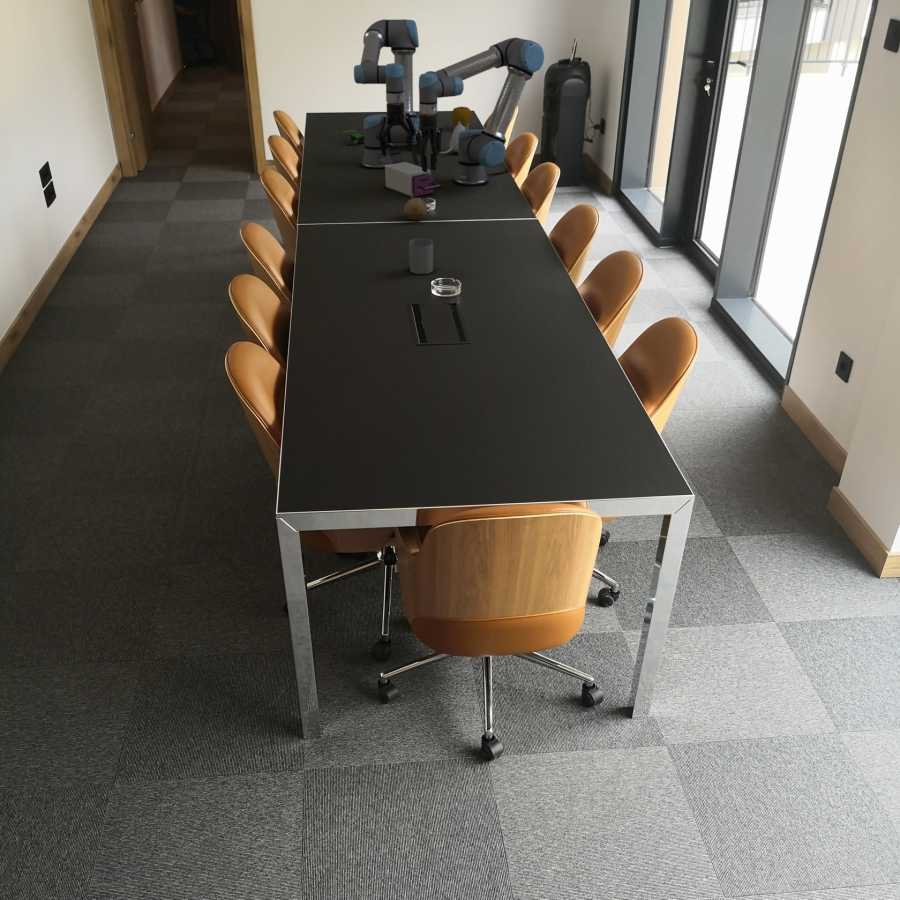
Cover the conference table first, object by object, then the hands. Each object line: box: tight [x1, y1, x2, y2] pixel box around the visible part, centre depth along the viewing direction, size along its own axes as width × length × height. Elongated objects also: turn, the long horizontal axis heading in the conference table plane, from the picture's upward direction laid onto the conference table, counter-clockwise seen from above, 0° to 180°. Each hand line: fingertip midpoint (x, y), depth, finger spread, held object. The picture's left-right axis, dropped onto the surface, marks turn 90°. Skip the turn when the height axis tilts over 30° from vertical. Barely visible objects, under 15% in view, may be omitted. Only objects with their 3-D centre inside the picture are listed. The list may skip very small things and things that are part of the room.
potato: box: [403, 197, 428, 221], centre depth 354 cm, size 10×14×8 cm
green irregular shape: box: [340, 129, 365, 146], centre depth 465 cm, size 6×13×30 cm
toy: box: [439, 121, 470, 155], centre depth 440 cm, size 9×24×15 cm, turn 137°
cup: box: [408, 237, 434, 275], centre depth 305 cm, size 8×8×10 cm
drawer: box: [412, 173, 441, 197], centre depth 384 cm, size 23×10×8 cm, turn 39°
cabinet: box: [384, 161, 432, 199], centre depth 389 cm, size 19×11×10 cm, turn 39°
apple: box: [451, 105, 472, 129], centre depth 487 cm, size 11×11×13 cm
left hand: (396, 153), depth 386 cm, fingers open, 13 cm apart
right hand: (429, 170), depth 375 cm, fingers open, 4 cm apart
